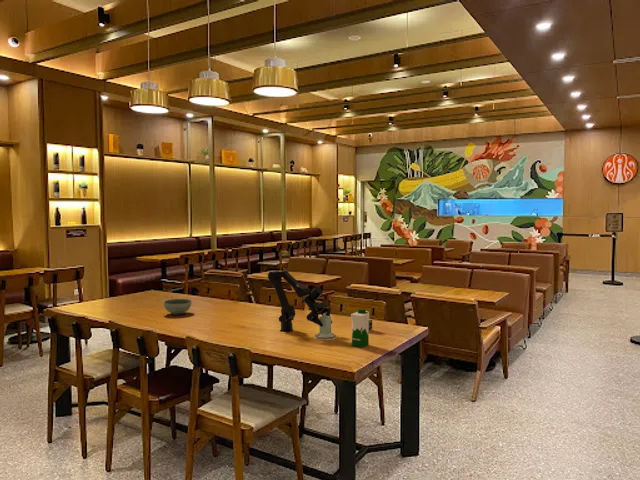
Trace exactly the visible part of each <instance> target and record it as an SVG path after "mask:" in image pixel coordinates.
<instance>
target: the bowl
mask: <svg viewBox="0 0 640 480" xmlns="http://www.w3.org/2000/svg"><path fill="white" fill-rule="evenodd" d="M192 303H193V300H192V299H189V298H170V299H165V300H163V301H162V304H163V306H164V308H165V310H166V311H167V312H169V313H170V314H171V315H172V316H181V314H182V315H185V313H186V312H188V311H189V309H190V308H191V306H192Z"/></svg>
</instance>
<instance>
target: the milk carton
mask: <svg viewBox="0 0 640 480" xmlns="http://www.w3.org/2000/svg"><path fill="white" fill-rule="evenodd" d="M365 311H366V309H365V308H359V309H358V310H357V312H356V311H355V312H353V313H351V314H350V318H351V347H356V348H365V347H367V346H369V344H370V343H369V342H370V341H369V340H370V339H369V336H370V335H369V334H370V333H369V332H370V331H369V319H370V312H369V313H365Z"/></svg>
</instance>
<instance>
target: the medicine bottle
mask: <svg viewBox="0 0 640 480" xmlns="http://www.w3.org/2000/svg"><path fill="white" fill-rule="evenodd" d="M365 313H369V314H370V311H367V310H365ZM371 331H373V319H372V318H369V332H371Z"/></svg>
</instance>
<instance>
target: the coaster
mask: <svg viewBox="0 0 640 480" xmlns="http://www.w3.org/2000/svg"><path fill="white" fill-rule="evenodd" d="M314 338H315V340H318V341H333V340H335V339H336V338H337V335H336V334H335V333H333V332H331V337H320V332H318V333H316V334H315V335H314Z"/></svg>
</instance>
